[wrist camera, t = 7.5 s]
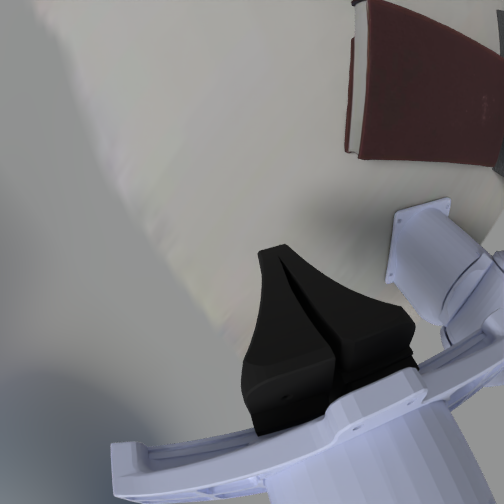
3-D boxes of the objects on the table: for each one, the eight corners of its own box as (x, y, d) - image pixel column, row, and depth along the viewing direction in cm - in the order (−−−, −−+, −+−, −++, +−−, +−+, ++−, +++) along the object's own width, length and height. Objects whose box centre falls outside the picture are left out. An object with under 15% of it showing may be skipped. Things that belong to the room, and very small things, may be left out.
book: (346, -3, 15) (371, -8, 12) (493, 57, 18) (516, 63, 16) (337, 149, 22) (359, 163, 20) (477, 158, 26) (497, 171, 23)
